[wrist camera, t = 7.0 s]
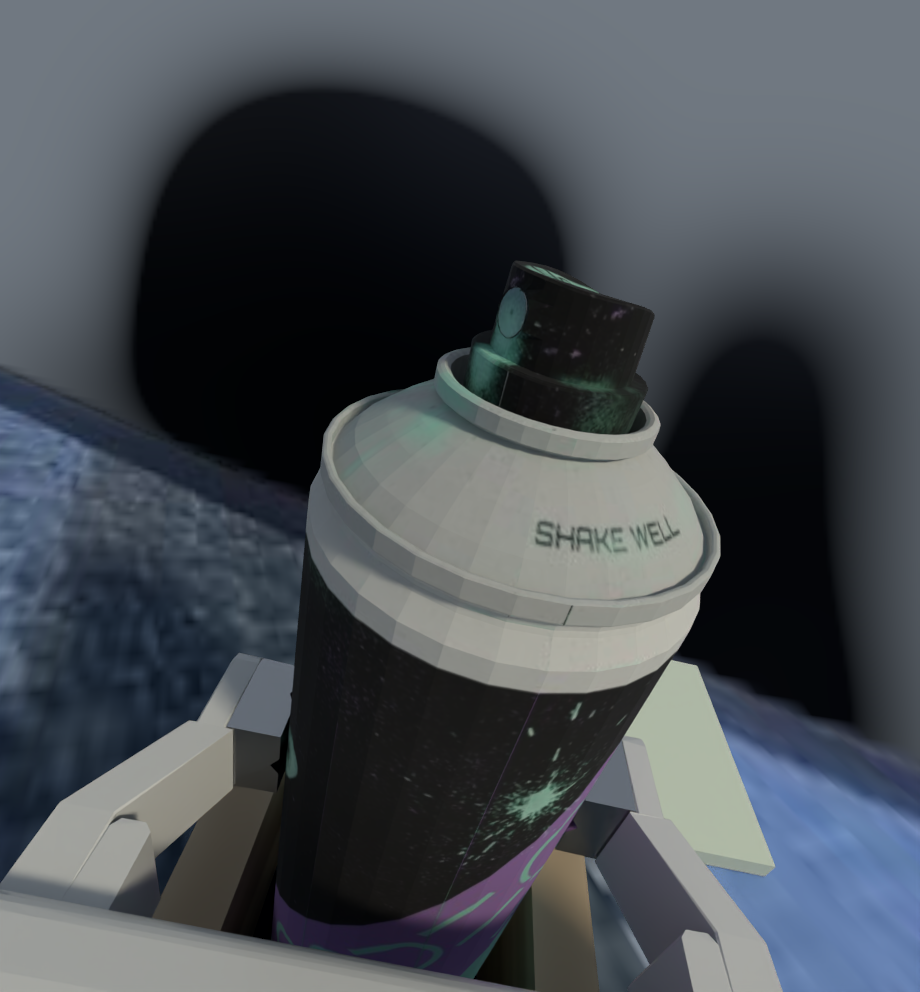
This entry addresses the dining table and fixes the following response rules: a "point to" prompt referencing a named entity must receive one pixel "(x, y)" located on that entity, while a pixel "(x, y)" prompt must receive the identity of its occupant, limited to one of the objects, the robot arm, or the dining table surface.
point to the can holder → (254, 856)
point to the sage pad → (699, 773)
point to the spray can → (477, 626)
